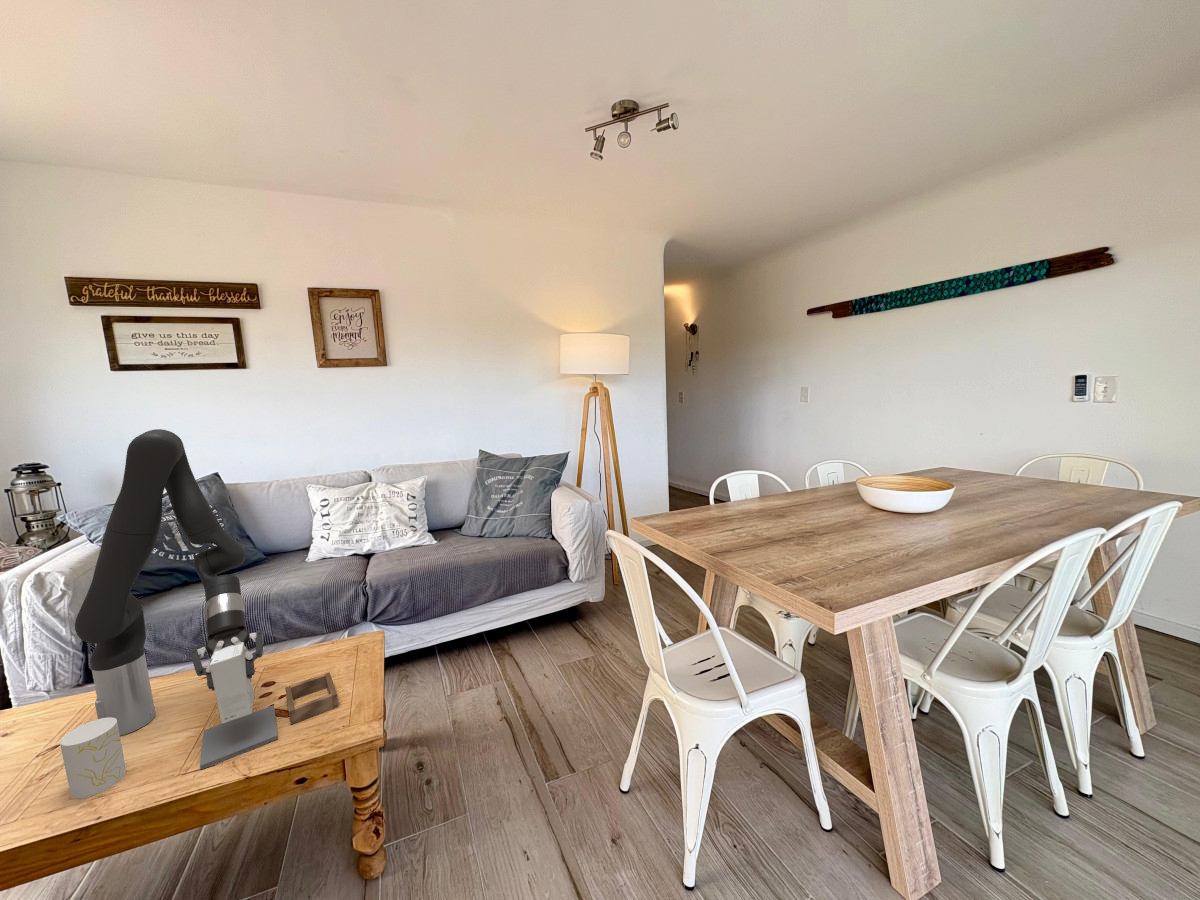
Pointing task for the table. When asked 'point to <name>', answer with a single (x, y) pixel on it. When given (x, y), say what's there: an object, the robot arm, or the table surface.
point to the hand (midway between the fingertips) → (232, 683)
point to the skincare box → (232, 683)
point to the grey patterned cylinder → (93, 757)
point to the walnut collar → (314, 705)
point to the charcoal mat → (238, 736)
